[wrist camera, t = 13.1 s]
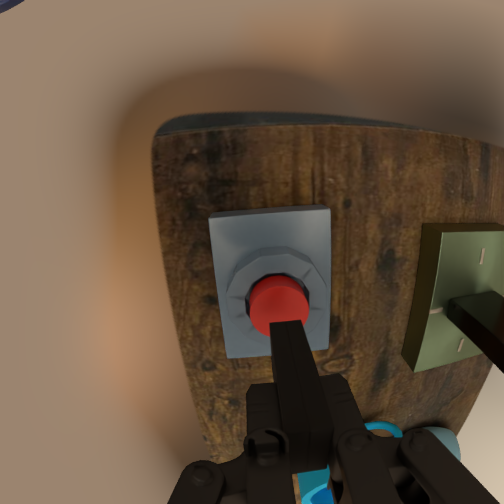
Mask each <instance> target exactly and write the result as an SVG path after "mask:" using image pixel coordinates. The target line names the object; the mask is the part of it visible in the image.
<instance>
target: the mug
mask: <svg viewBox="0 0 504 504" xmlns="http://www.w3.org/2000/svg"><path fill="white" fill-rule="evenodd" d="M365 426H366V428H367V429H368V430H372V429H385V430H388V431H390V432H391V433H392V434H393V435H394V437H402V436H403V435H402V431H401V430H400V429H399V428H398V427H397V426H396V425H395V424H392V423H390V422H387V421H374V422H369V423H365ZM297 475H298V481H299V488H300V495H301V501H302V504H334V501H333V497H332V492H331V488H330V489H329V490H327V483H328V479H329V476H330V470H329V466H328V465H327V469H323V470H317V471H311V472H304V473H297Z"/></svg>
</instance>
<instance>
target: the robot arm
mask: <svg viewBox="0 0 504 504" xmlns="http://www.w3.org/2000/svg"><path fill="white" fill-rule="evenodd" d="M269 328H270V343H271V360H272V371H273V379H274V382H273V383H262V384H251V386H250V388H249V389H248V391H247V393H246V404H247V406H246V409H247V436H246V437H245V439H244V443H243V445H244V452H243V453H242V454H241V455H240V456H239V457H237V458H236V459H233V460H231V461H228V462H224V463H221V464H216V463H214V462H211V461H206V460H200V461H196V462H193V463H191V464H189V465H188V466H186V468H185V469H184V470H183V472H182V473H181V475H180V478H179V480H178V482H177V484H176V486H175V488H174V490H173V493H172V495H171V497H170V499H169V501H168V503H167V504H296V501H295V494H294V487H293V479H292V474H297V473H304V472H311V471H317V470H323V469H327V465H328V466H329V470H330V476H329V479H328V483H327V490H329V489H330V488H331V492H332V497H333V501H334V504H500V503H499V502H498V501H497V500H496V499H495V498H494V497H493V496H492V495H491V494H490V493H489V492H488V490H487V489H486V488H484V486H483V485H482V484H481V483H480V482H479V481H478V480H477V479H476V478H475V477H474V476H473V475H472V474H471V473H470V471H469V470H467V468H466V467H465V466H464V465H463V464H462V463H461V462H460V461H459V460H458V459H457V458H456V457H455V456H454V455H453V454H452V453H451V452H450V450H449V449H448V448H447V447H446V446H445V445H444V444H443V443H442V442H441V441H440V440H439V439H438V438H437V437H436V436H435V435H434V434H433V433H432V432H430V431H429V430H427V429H423V428H414V429H411V430H408V431H407V432H406V433H405V434H404V435H403V436H402V437H380V436H377V435H374V434H373V433H372V432H370V431H369V430H368V429H367V428H366V426H365V424H364V421H363V419H362V416H361V414H360V411H359V409H358V406H357V404H356V401H355V399H354V396H353V394H352V392H351V389H350V387H349V384H348V382H347V380H346V379H345V378H343V377H342V376H341V375H340V374H339V373H338V374H331V375H325V376H319V374H318V371H317V368H316V365H315V361H314V358H313V355H312V352H311V349H310V346H309V343H308V340H307V336H306V333H305V330H304V327H303V324H302V321H301V320H292V321H282V322H271V323H269Z"/></svg>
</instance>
